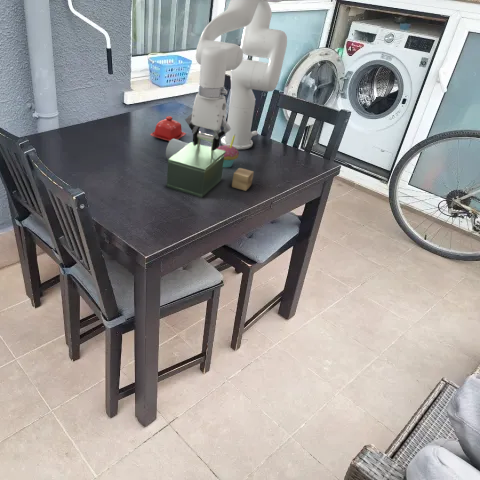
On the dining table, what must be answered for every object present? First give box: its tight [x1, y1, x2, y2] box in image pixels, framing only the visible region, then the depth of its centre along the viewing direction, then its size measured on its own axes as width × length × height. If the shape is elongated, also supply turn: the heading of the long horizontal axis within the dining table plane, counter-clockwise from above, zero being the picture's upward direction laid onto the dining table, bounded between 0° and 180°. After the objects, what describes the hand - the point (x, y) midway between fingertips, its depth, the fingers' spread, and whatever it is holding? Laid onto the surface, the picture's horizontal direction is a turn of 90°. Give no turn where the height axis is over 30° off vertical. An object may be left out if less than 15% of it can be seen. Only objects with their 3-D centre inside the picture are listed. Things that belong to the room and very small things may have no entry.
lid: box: [167, 131, 226, 172], centre depth 141 cm, size 16×13×6 cm
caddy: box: [166, 156, 224, 198], centre depth 145 cm, size 15×13×9 cm
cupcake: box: [217, 135, 240, 168], centre depth 157 cm, size 9×8×12 cm
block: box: [231, 167, 255, 192], centre depth 146 cm, size 5×5×5 cm
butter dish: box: [149, 115, 187, 142], centre depth 178 cm, size 12×12×8 cm
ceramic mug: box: [165, 139, 189, 160], centre depth 160 cm, size 11×8×8 cm
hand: (205, 146), depth 145 cm, fingers closed on lid, 6 cm apart
